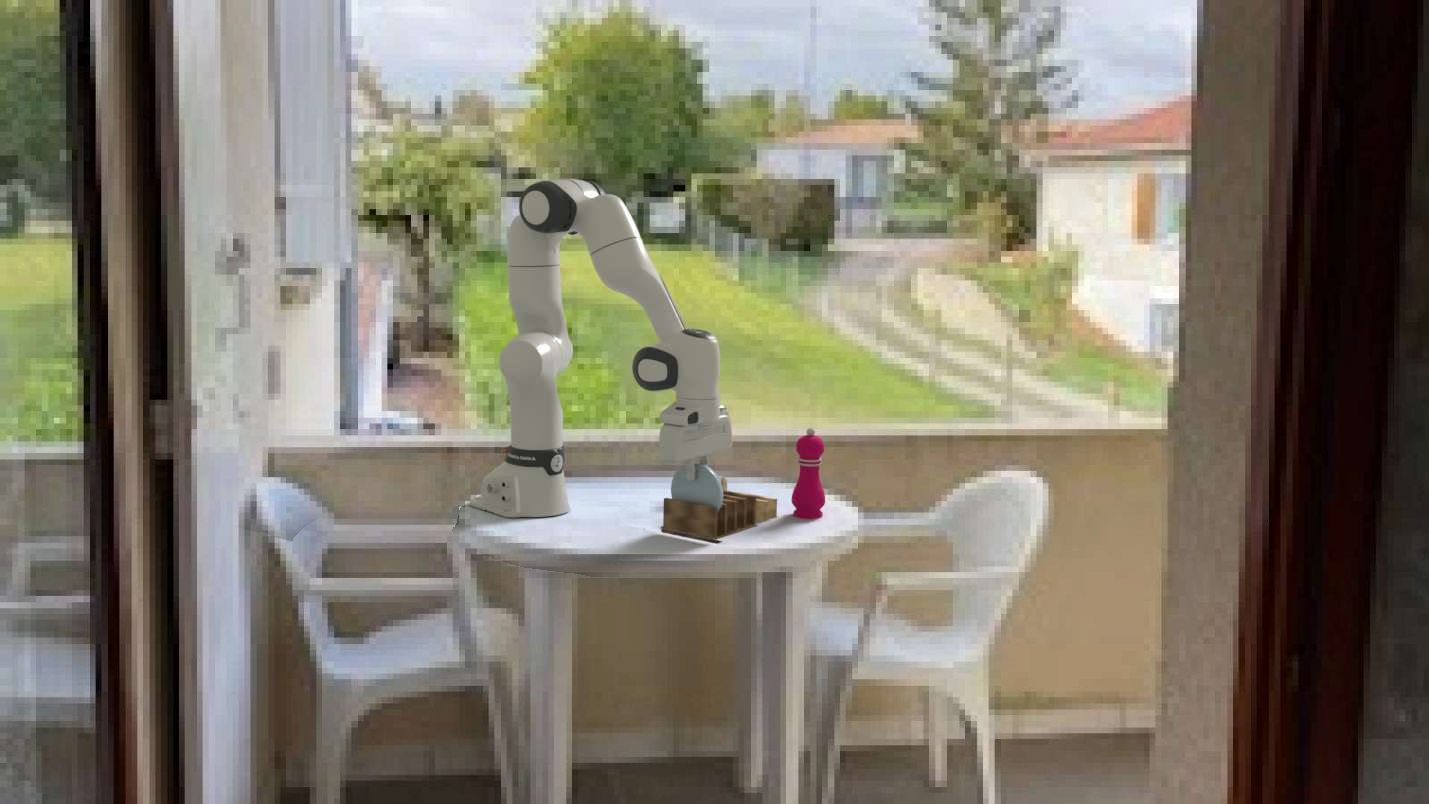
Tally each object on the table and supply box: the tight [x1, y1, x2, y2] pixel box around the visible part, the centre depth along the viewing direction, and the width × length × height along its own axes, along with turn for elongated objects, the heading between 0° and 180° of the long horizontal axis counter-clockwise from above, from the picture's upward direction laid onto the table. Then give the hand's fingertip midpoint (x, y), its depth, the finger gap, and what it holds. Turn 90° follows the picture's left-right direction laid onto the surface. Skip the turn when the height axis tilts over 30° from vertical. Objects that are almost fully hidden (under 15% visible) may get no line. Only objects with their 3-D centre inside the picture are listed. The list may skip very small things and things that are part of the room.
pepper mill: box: [791, 427, 826, 520], centre depth 312 cm, size 7×7×20 cm
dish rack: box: [660, 490, 758, 545], centre depth 301 cm, size 14×14×7 cm
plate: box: [670, 462, 723, 512], centre depth 296 cm, size 12×2×12 cm, turn 54°
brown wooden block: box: [737, 491, 780, 522], centre depth 312 cm, size 10×6×5 cm, turn 54°
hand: (696, 478), depth 296 cm, fingers closed on plate, 2 cm apart
